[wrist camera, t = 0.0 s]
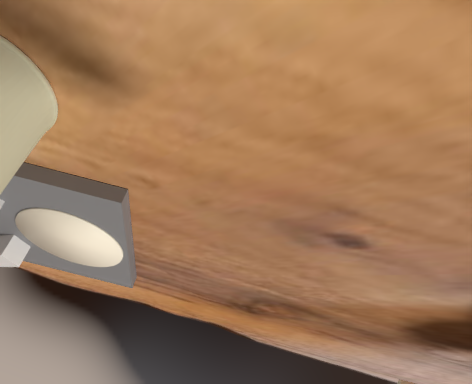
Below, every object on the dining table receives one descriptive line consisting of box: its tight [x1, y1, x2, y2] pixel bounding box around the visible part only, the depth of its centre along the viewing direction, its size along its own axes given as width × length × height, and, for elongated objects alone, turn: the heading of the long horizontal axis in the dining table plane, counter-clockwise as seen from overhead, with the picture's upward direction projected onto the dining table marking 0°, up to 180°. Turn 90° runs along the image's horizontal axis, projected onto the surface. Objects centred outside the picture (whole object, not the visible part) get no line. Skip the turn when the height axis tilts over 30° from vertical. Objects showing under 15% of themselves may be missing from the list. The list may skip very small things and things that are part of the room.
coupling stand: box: [0, 162, 136, 288], centre depth 39 cm, size 19×22×4 cm
